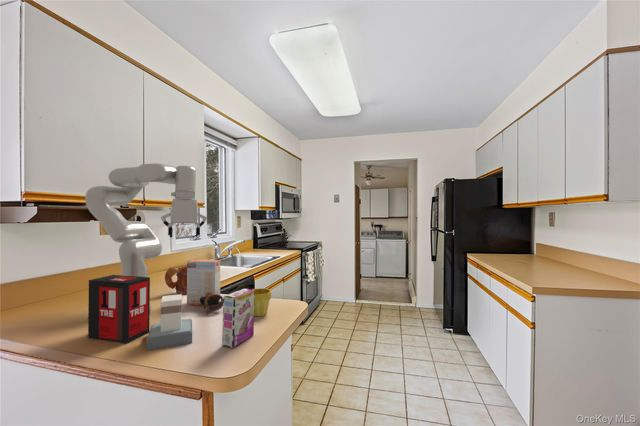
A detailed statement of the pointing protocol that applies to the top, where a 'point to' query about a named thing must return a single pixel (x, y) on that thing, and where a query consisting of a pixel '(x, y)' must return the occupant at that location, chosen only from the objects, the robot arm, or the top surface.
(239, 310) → the candy bar box
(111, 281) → the cleaning product box
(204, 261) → the cracker box
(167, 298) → the cream carton
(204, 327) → the top surface
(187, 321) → the display podium
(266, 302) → the plant pot
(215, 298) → the brown clay jug
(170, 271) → the mug
